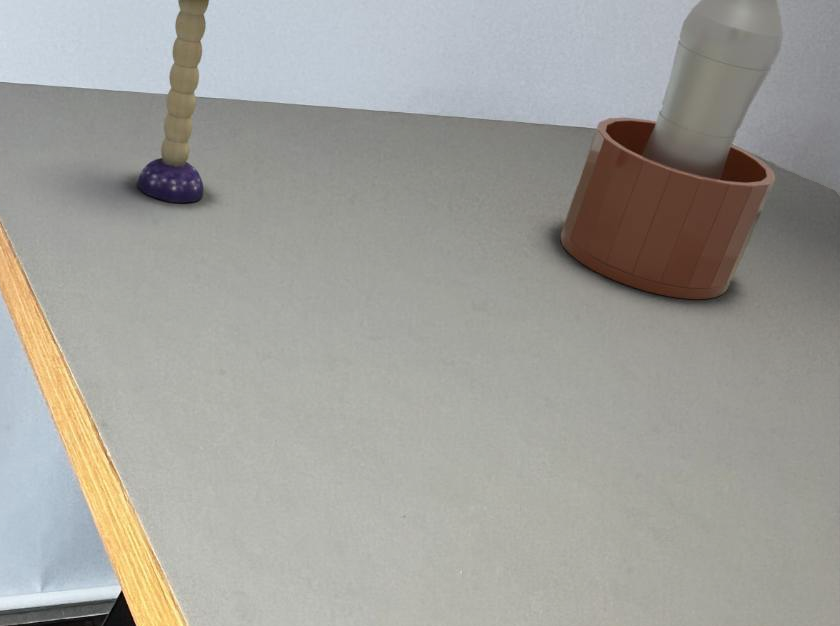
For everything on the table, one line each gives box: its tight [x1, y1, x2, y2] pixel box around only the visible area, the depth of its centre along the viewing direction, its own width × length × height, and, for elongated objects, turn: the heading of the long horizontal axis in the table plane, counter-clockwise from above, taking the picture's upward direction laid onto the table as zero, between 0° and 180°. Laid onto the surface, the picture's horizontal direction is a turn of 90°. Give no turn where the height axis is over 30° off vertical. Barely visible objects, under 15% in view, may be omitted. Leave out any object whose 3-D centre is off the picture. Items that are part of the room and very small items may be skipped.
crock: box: [560, 117, 776, 300], centre depth 86 cm, size 12×12×8 cm
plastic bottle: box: [642, 0, 784, 180], centre depth 82 cm, size 6×7×20 cm
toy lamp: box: [137, 0, 210, 203], centre depth 75 cm, size 5×5×17 cm
